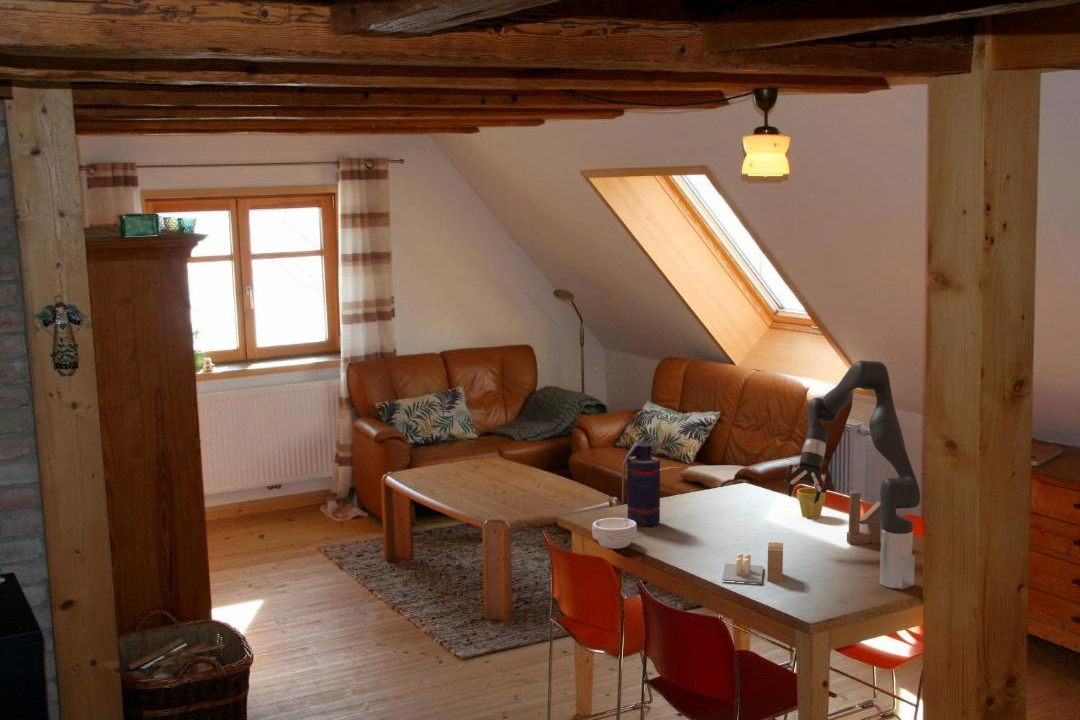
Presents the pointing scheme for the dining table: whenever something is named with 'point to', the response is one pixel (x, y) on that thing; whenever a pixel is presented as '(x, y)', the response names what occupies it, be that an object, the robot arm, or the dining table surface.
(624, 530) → the white bowl
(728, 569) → the peg stand
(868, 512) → the wooden block structure
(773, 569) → the brown rectangular block
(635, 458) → the grenade
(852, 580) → the dining table surface
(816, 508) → the plant pot
